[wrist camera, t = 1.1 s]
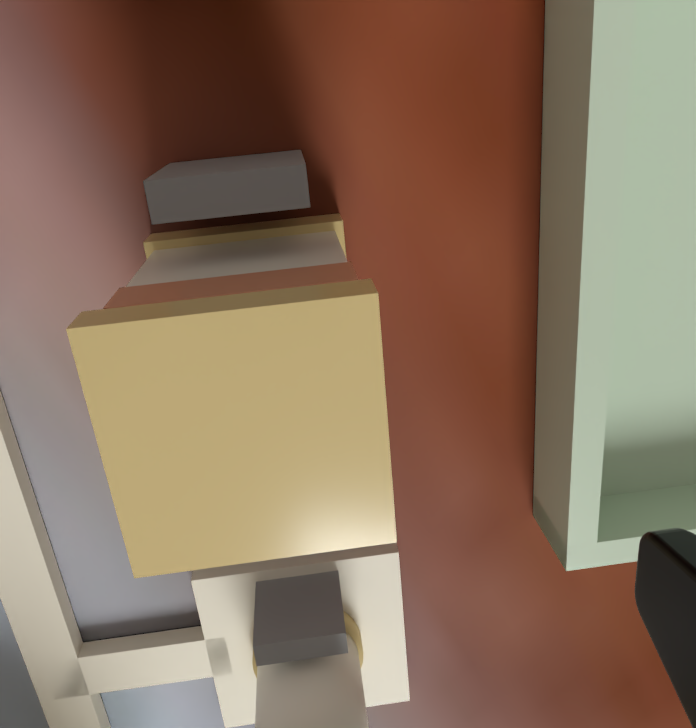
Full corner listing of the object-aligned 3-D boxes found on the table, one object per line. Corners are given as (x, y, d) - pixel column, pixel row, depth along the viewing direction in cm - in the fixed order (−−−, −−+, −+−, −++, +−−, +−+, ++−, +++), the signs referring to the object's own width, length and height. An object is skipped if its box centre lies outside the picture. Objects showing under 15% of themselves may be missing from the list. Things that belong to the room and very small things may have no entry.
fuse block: (320, -442, 11) (356, -899, 6) (406, 685, 22) (446, 875, 17) (-357, -403, 11) (-967, -875, 6) (64, 735, 21) (-7, 949, 16)
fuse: (338, 212, 16) (378, 292, 10) (355, 382, 18) (396, 542, 11) (151, 233, 16) (65, 329, 9) (186, 403, 17) (134, 578, 11)
